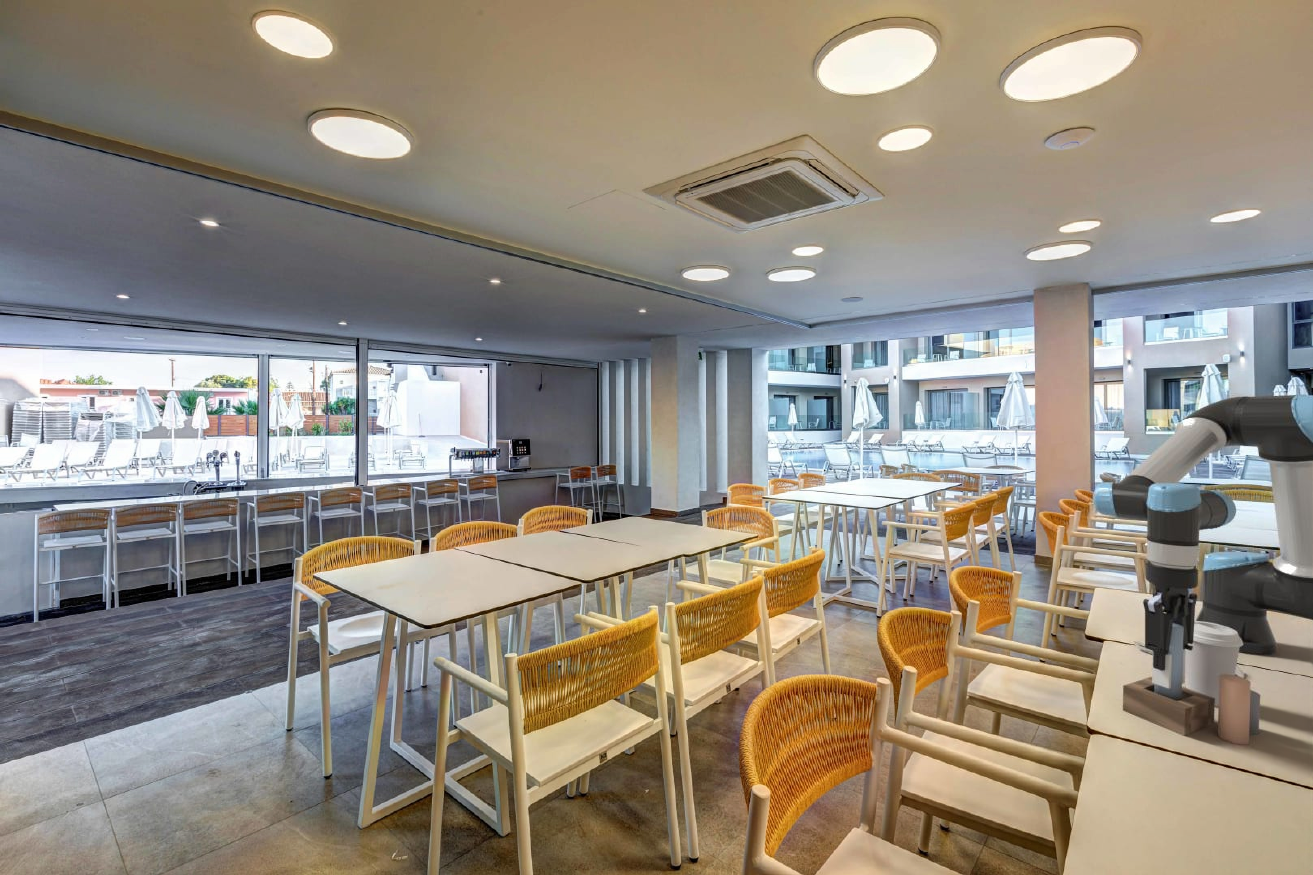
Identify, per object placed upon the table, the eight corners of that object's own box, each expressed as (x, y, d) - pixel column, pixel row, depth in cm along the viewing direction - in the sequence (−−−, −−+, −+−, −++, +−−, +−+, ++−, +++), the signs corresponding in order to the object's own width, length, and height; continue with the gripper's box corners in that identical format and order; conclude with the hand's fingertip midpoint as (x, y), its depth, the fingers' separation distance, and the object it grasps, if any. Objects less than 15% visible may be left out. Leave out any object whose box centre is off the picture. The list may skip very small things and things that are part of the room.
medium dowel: (1224, 730, 108) (1226, 672, 107) (1253, 741, 104) (1255, 681, 104) (1213, 735, 106) (1214, 676, 106) (1242, 746, 102) (1243, 685, 102)
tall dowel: (1161, 698, 115) (1163, 620, 114) (1185, 708, 111) (1188, 626, 111) (1149, 703, 114) (1151, 623, 113) (1174, 712, 110) (1176, 630, 109)
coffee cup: (1254, 713, 114) (1257, 638, 113) (1197, 708, 115) (1200, 635, 115) (1217, 690, 123) (1220, 620, 122) (1166, 686, 125) (1167, 618, 124)
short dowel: (1234, 720, 111) (1236, 685, 111) (1263, 731, 107) (1264, 694, 107) (1223, 725, 109) (1225, 689, 109) (1252, 736, 106) (1253, 698, 105)
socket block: (1152, 699, 119) (1152, 676, 119) (1214, 723, 110) (1214, 698, 110) (1122, 710, 115) (1123, 685, 115) (1184, 735, 106) (1185, 709, 106)
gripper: (1173, 554, 118) (1170, 667, 119) (1122, 564, 111) (1119, 682, 112) (1220, 563, 111) (1216, 682, 112) (1169, 574, 104) (1166, 700, 105)
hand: (1168, 682), depth 112 cm, fingers closed on tall dowel, 4 cm apart
